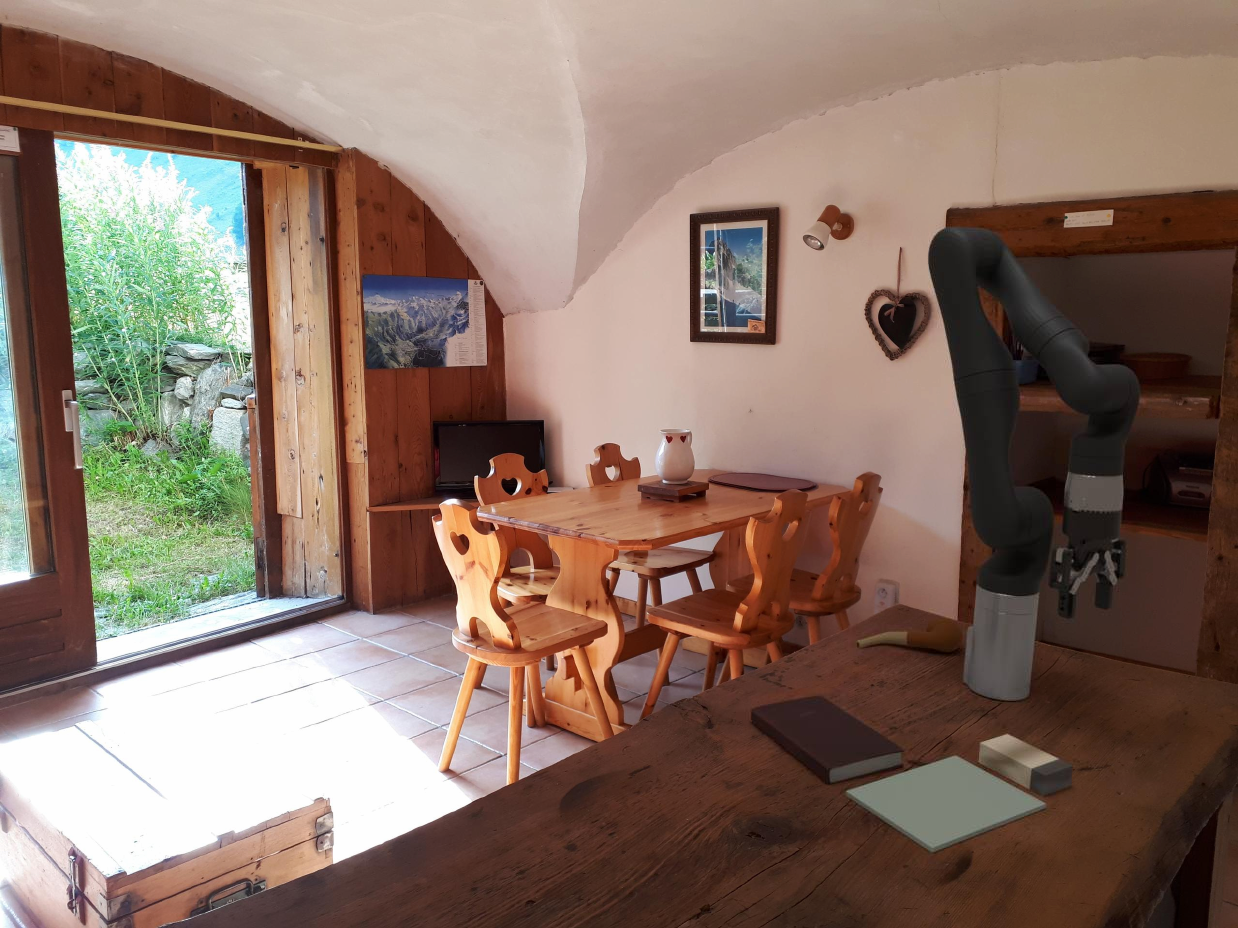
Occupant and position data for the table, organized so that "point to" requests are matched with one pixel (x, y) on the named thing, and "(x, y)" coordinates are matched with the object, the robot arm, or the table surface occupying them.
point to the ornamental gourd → (922, 636)
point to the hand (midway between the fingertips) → (1084, 612)
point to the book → (827, 738)
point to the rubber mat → (944, 802)
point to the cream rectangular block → (1025, 764)
